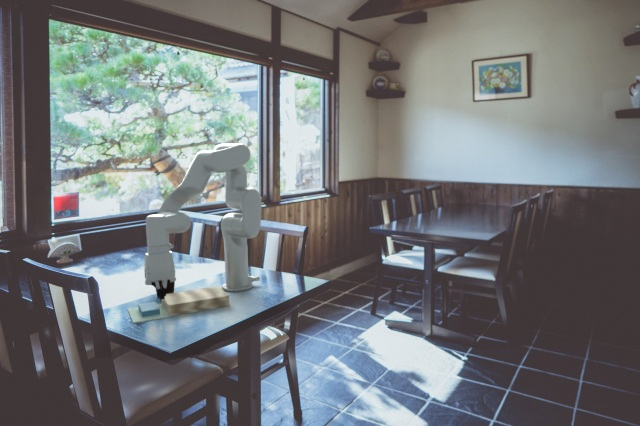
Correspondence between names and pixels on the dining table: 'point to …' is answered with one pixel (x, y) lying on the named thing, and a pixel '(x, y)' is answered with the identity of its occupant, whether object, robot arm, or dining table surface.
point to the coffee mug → (168, 287)
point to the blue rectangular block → (149, 309)
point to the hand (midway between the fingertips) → (161, 298)
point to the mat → (138, 317)
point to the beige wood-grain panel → (195, 300)
